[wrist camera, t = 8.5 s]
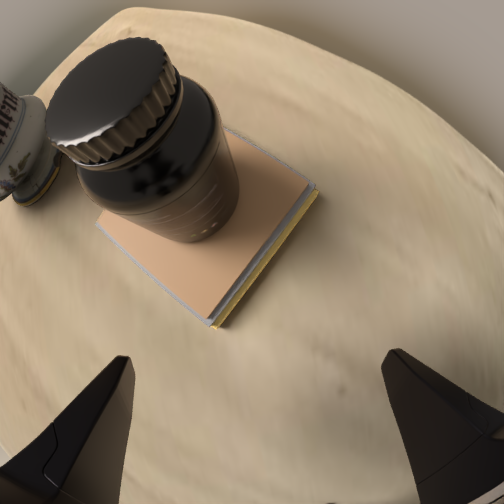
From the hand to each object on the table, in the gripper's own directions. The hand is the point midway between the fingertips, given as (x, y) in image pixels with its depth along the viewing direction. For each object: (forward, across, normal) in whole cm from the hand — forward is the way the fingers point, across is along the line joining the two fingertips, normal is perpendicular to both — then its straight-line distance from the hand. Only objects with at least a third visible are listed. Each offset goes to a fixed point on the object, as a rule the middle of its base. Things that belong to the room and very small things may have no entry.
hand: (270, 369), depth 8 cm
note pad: (+15, +3, 0) cm, 15 cm away
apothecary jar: (+22, +24, -4) cm, 32 cm away
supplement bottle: (+13, +4, -2) cm, 13 cm away
